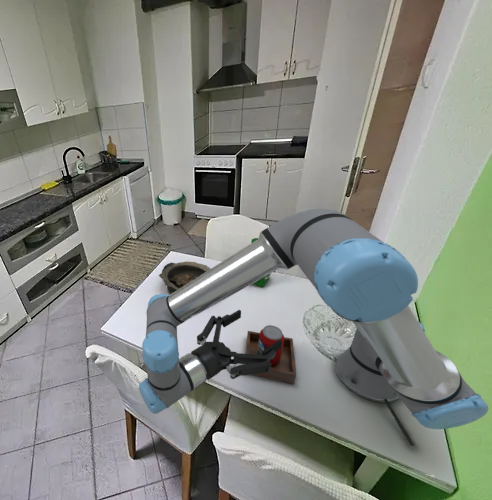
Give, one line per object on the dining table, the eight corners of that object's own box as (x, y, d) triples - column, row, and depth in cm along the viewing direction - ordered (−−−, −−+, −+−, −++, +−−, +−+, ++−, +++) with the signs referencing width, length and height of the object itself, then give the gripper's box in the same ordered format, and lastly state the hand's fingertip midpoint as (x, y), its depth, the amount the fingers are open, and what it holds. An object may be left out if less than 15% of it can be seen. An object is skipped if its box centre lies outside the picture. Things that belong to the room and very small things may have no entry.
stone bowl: (150, 294, 123) (148, 277, 119) (181, 269, 139) (181, 253, 135) (199, 315, 108) (199, 296, 104) (227, 285, 124) (229, 267, 120)
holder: (293, 384, 81) (296, 375, 79) (244, 373, 86) (245, 364, 84) (290, 347, 91) (292, 338, 89) (246, 339, 96) (247, 330, 94)
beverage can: (259, 346, 92) (262, 321, 86) (281, 353, 89) (286, 327, 83) (255, 362, 87) (258, 336, 81) (278, 370, 84) (283, 344, 78)
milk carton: (252, 272, 127) (255, 234, 117) (272, 279, 122) (277, 239, 111) (243, 282, 122) (246, 243, 112) (264, 289, 116) (269, 249, 106)
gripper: (171, 343, 80) (225, 312, 88) (235, 417, 61) (298, 368, 68) (168, 325, 77) (226, 294, 84) (236, 398, 57) (303, 348, 65)
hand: (258, 327), depth 76 cm, fingers open, 13 cm apart
